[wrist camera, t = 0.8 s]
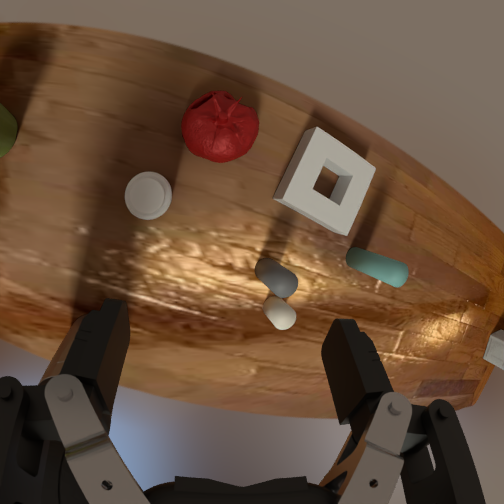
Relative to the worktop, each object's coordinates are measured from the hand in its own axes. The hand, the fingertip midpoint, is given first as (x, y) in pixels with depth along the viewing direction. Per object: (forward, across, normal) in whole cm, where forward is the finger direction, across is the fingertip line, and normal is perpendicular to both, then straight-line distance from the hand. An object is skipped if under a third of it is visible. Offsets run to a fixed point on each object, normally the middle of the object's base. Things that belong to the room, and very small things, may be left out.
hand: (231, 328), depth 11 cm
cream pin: (+28, +10, -23) cm, 38 cm away
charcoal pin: (+30, +8, -18) cm, 36 cm away
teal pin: (+33, +24, -16) cm, 44 cm away
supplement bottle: (+31, -10, -8) cm, 34 cm away
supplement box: (+34, +94, -43) cm, 109 cm away
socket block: (+36, +15, -4) cm, 39 cm away
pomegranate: (+36, -2, +1) cm, 36 cm away
